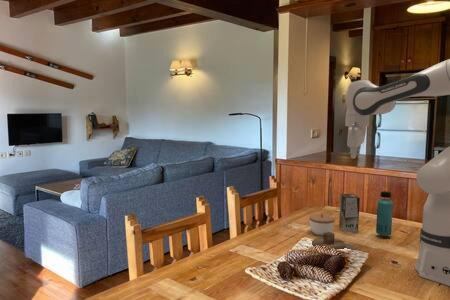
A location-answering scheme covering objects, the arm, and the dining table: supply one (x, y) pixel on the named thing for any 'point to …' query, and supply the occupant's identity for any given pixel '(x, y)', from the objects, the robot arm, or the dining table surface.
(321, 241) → the lid
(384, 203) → the beverage bottle
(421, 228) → the robot arm
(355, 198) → the coffee box
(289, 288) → the dining table surface
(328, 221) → the lidded jar
